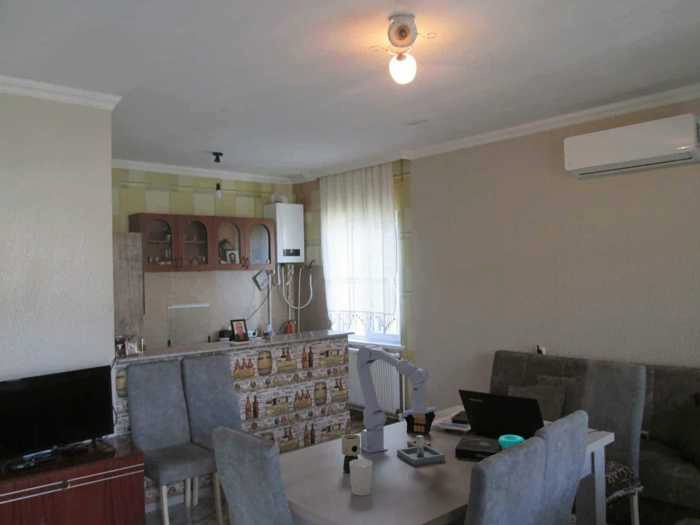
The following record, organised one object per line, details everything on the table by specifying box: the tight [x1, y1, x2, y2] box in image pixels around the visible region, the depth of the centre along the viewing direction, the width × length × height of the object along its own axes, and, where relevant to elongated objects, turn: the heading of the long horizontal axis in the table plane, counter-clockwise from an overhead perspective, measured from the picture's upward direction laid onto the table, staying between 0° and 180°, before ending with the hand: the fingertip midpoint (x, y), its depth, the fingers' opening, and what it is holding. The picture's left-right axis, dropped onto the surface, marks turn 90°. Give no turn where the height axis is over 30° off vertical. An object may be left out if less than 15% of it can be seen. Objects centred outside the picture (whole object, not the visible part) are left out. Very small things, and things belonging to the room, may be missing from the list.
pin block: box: [406, 439, 432, 448], centre depth 239 cm, size 8×8×2 cm
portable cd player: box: [454, 437, 503, 461], centre depth 229 cm, size 16×17×4 cm
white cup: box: [349, 458, 373, 496], centre depth 190 cm, size 8×8×10 cm
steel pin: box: [415, 434, 425, 457], centre depth 224 cm, size 3×3×8 cm
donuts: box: [498, 434, 526, 449], centre depth 216 cm, size 10×10×10 cm
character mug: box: [341, 434, 361, 473], centre depth 211 cm, size 11×7×13 cm, turn 145°
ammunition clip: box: [406, 406, 430, 436], centre depth 259 cm, size 11×2×12 cm, turn 62°
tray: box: [396, 445, 446, 467], centre depth 224 cm, size 14×14×2 cm
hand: (419, 432), depth 224 cm, fingers open, 7 cm apart
